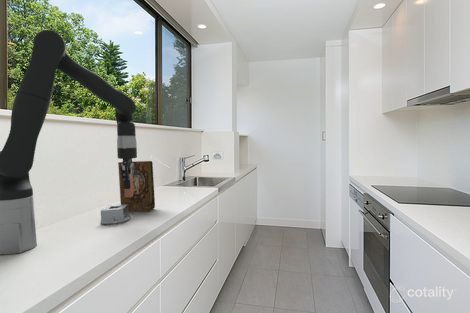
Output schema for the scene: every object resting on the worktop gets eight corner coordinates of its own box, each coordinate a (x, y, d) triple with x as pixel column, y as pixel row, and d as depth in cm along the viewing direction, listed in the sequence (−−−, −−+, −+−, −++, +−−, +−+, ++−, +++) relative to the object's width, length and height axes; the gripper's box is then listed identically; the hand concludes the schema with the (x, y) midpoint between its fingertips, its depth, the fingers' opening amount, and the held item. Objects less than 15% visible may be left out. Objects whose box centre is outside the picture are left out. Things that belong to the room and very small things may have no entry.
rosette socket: (126, 223, 110) (125, 209, 110) (96, 225, 108) (95, 211, 108) (133, 215, 122) (132, 203, 122) (105, 217, 120) (105, 205, 120)
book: (119, 212, 130) (116, 162, 129) (125, 209, 135) (122, 161, 134) (150, 211, 128) (148, 161, 127) (155, 209, 134) (152, 160, 133)
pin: (133, 197, 107) (131, 164, 106) (122, 197, 106) (121, 164, 106) (135, 195, 111) (134, 163, 111) (125, 196, 110) (123, 164, 110)
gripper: (122, 147, 114) (123, 186, 115) (112, 147, 100) (114, 191, 101) (139, 146, 115) (141, 185, 116) (132, 146, 101) (134, 190, 102)
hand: (128, 187), depth 109 cm, fingers closed on pin, 3 cm apart
